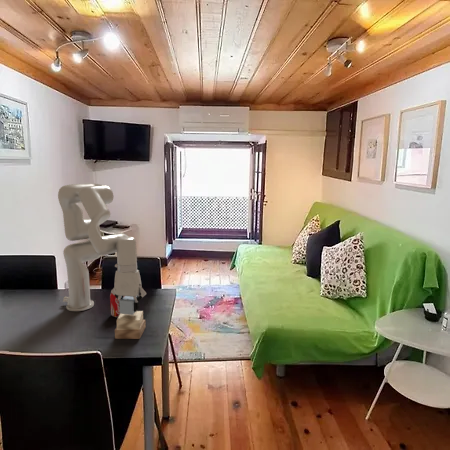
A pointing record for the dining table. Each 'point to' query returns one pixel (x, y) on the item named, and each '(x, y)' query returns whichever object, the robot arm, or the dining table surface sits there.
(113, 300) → the soda can
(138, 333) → the base slab
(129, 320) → the top slab
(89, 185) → the robot arm
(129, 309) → the block
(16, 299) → the dining table surface
